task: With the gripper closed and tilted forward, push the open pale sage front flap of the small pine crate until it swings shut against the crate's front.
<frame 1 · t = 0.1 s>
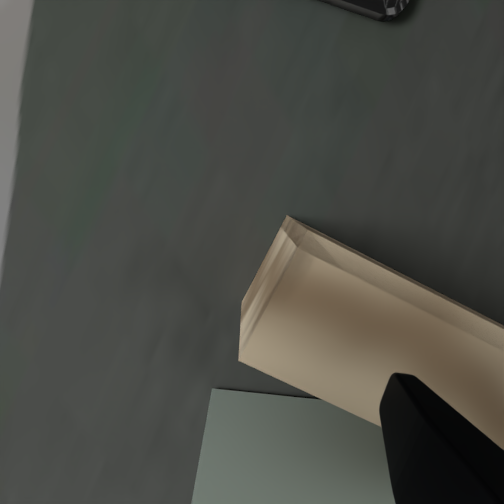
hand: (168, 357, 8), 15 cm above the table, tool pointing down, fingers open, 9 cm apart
flap: (369, 479, 18), point 6 cm above the table, hinge at 20.0°
crate: (378, 316, 24), on the table
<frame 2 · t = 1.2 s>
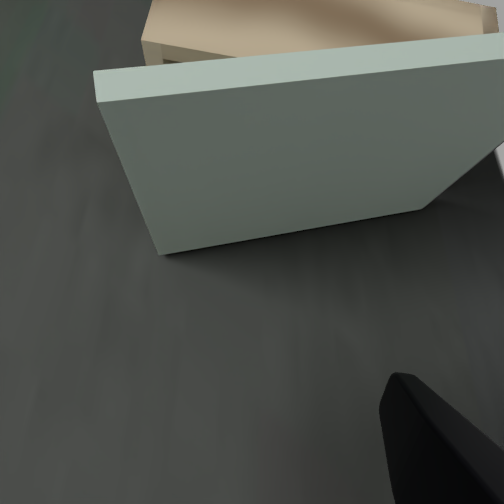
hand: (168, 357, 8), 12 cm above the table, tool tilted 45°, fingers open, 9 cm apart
flap: (329, 167, 17), point 6 cm above the table, hinge at 20.0°
crate: (296, 132, 25), on the table
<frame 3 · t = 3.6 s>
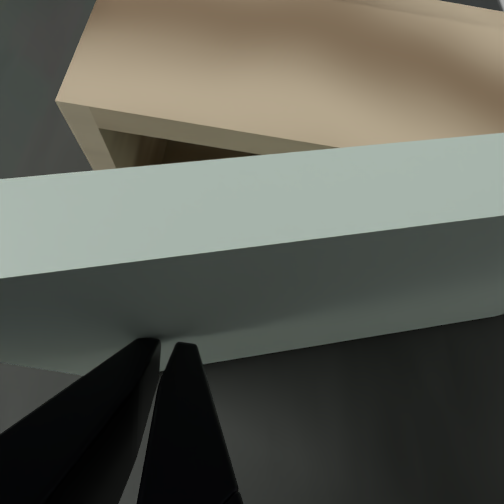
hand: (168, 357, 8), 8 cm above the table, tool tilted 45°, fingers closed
flap: (375, 295, 10), point 6 cm above the table, hinge at 17.1°, touching gripper
crate: (313, 202, 18), on the table
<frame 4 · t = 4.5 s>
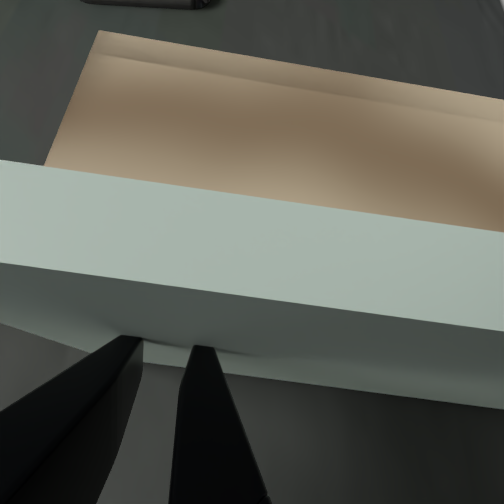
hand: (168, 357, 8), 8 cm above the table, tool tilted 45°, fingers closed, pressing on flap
flap: (375, 356, 9), point 6 cm above the table, hinge at 1.3°, touching gripper
crate: (317, 276, 17), on the table
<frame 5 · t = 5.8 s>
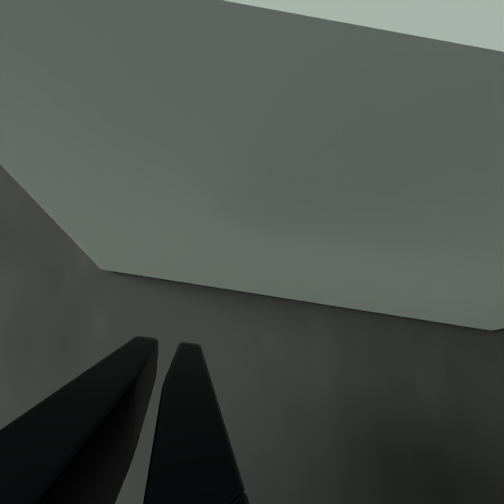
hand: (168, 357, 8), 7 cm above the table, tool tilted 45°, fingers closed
flap: (358, 232, 10), point 6 cm above the table, hinge at -0.9°
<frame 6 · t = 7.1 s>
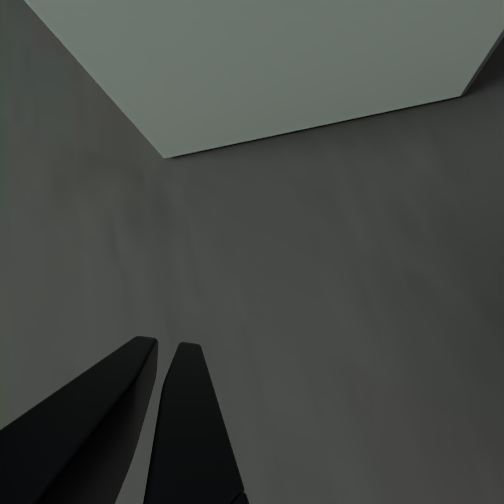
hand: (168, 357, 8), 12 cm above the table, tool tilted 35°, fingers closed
flap: (307, 38, 15), point 6 cm above the table, hinge at -0.9°
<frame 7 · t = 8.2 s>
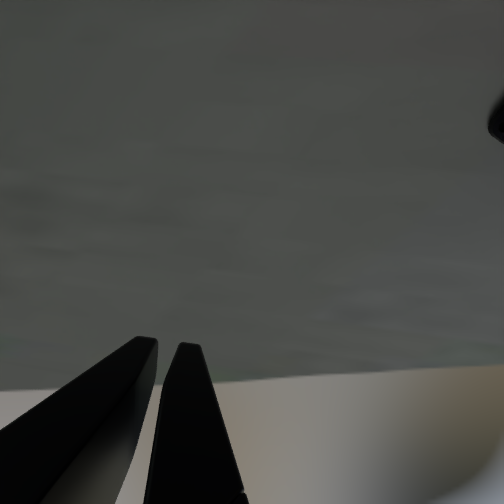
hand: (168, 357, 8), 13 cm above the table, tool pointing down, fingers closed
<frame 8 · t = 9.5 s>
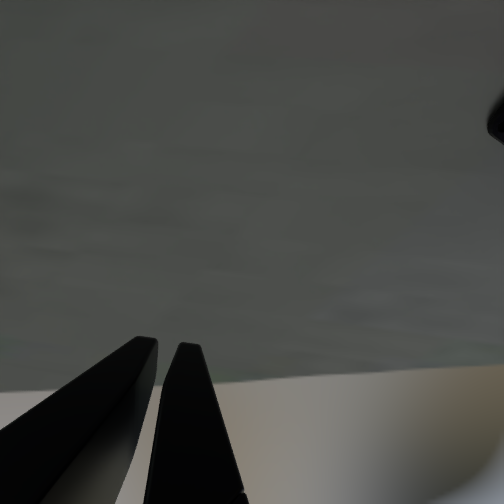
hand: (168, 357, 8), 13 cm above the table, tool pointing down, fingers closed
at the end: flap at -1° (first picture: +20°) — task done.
